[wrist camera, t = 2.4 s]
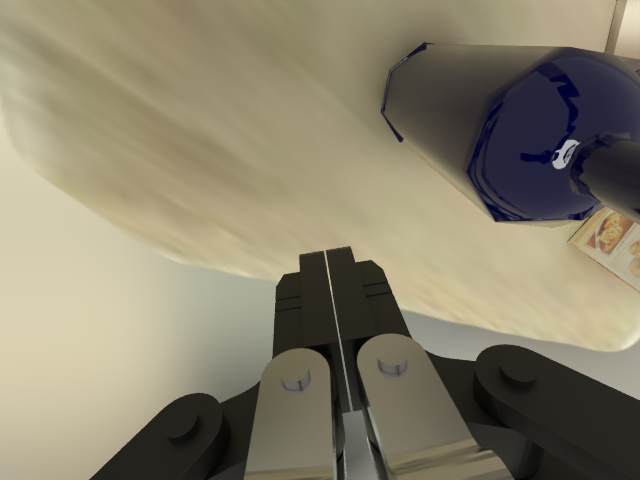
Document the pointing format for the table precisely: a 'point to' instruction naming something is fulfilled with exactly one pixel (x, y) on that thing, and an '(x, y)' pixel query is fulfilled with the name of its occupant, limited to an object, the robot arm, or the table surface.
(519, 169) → the bottle
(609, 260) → the coffeecake box
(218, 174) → the table surface
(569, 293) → the table surface
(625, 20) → the u rest
